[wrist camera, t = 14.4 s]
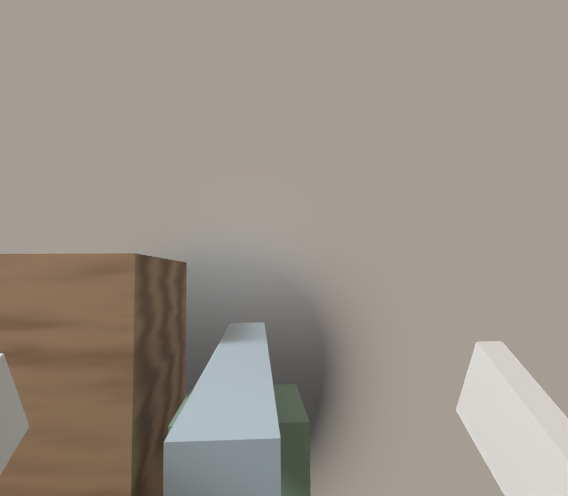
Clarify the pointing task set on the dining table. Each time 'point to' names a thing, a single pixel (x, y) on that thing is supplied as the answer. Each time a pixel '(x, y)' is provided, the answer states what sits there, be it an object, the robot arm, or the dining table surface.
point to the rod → (228, 424)
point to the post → (287, 439)
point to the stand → (92, 370)
